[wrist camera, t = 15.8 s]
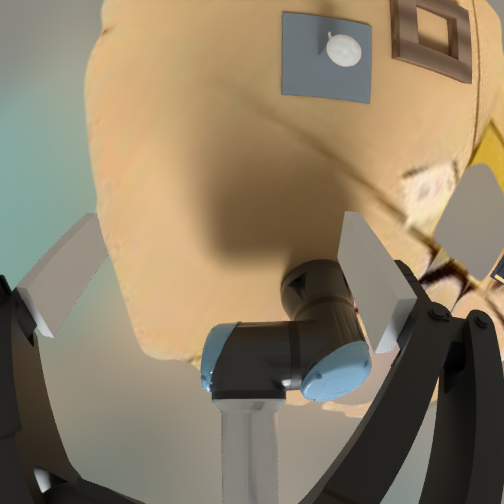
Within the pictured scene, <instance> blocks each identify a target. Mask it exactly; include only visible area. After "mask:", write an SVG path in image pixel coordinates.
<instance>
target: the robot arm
mask: <svg viewBox="0 0 504 504" xmlns="http://www.w3.org/2000/svg"><path fill="white" fill-rule="evenodd" d="M107 256H108V253H107V250H106V246H105V243H104V239H103V235H102V231H101V228H100V224H99V219H98V215H97V213H87V214H85V215H84V216H83V217H82V218H81V219H80V220H79V221H78V222H77V223H76V224H75V225H74V226H72V227H71V228H70V229H69V230H68V231H67V232H66V233H65V234H64V235H63V236H62V237H61V238H60V239H59V240H58V241H57V242H56V243H55V244H54V245H53V246H52V247H51V248H50V249H49V250H48V251H47V252H46V253H45V254H44V256H43V257H42V258H41V259H40V260H39V261H38V262H37V263H36V264H35V265H34V266H33V268H32V269H31V270H30V271H29V272H28V273H27V274H26V276H25V277H24V278H23V279H22V280H21V282H20V283H19V284H18V285H17V286H16V288H15V289H14V290H13V291H11V289H10V287H9V285H8V283H7V281H6V279H5V277H4V276H3V275H0V504H145V503H143V502H141V501H139V500H136V499H133V498H131V497H128V496H125V495H123V494H120V493H118V492H116V491H113V490H111V489H109V488H106V487H103V486H100V485H97V484H95V483H92V482H89V481H87V480H84V479H82V478H81V476H80V475H79V473H78V472H77V471H76V470H75V469H74V468H73V466H72V465H71V463H70V462H69V460H68V457H67V455H66V452H65V449H64V447H63V444H62V441H61V438H60V435H59V432H58V430H57V426H56V423H55V419H54V416H53V413H52V409H51V406H50V402H49V398H48V394H47V389H46V385H45V380H44V375H43V371H42V365H41V359H40V353H39V347H38V339H37V335H36V333H35V332H34V330H35V328H36V326H37V327H38V328H39V330H40V331H41V333H42V335H44V336H48V337H52V338H54V337H55V336H56V334H57V332H58V330H59V329H60V327H61V325H62V324H63V322H64V320H65V319H66V317H67V315H68V314H69V312H70V311H71V309H72V307H73V306H74V304H75V303H76V301H77V299H78V298H79V297H80V295H81V293H82V292H83V290H84V289H85V287H86V286H87V284H88V283H89V281H90V280H91V279H92V277H93V276H94V274H95V273H96V271H97V270H98V269H99V267H100V266H101V264H102V263H103V262H104V260H105V259H106V257H107ZM337 259H338V261H339V264H338V263H336V262H333V261H329V260H316V261H311V262H307V263H305V264H302V265H300V266H298V267H297V268H295V269H294V270H293V271H291V272H290V273H289V274H288V276H287V277H286V278H285V280H284V282H283V284H282V287H281V301H282V306H283V308H284V310H285V312H286V313H287V315H288V317H289V318H290V320H291V321H277V322H236V323H227V324H218V325H216V326H214V327H213V328H212V329H211V331H210V332H209V334H208V336H207V338H206V341H205V344H204V348H203V353H202V359H201V384H202V387H203V389H204V390H205V391H207V392H209V393H212V403H213V404H214V405H215V406H216V407H217V408H218V409H219V410H220V412H221V426H222V427H221V447H222V448H221V449H222V450H221V453H222V503H223V504H278V441H277V440H278V438H277V411H278V410H279V409H280V407H281V406H282V405H283V404H284V403H285V402H286V391H288V390H300V392H301V393H302V394H303V396H304V397H305V398H306V399H308V400H313V401H328V400H332V399H336V398H338V397H341V396H343V395H346V394H348V393H350V392H351V391H353V390H354V389H355V388H357V387H359V386H360V385H361V384H362V383H363V382H364V381H365V380H366V378H367V377H368V375H369V373H370V371H371V366H372V363H371V358H370V354H369V347H368V344H367V343H366V340H365V337H364V335H363V332H362V329H361V326H360V324H359V321H358V318H357V316H356V313H355V310H354V308H353V307H354V300H355V303H356V305H357V308H358V311H359V313H360V316H361V319H362V321H363V324H364V327H365V330H366V332H367V335H368V338H369V340H370V344H371V346H372V349H373V352H374V354H377V353H385V352H391V351H392V350H393V348H394V346H395V344H396V342H397V343H398V345H399V348H400V351H399V352H398V354H397V356H396V358H395V359H394V361H393V363H392V364H391V368H390V371H389V373H388V375H387V376H386V378H385V380H384V382H383V384H382V386H381V388H380V390H379V391H378V394H377V395H376V397H375V399H374V400H373V402H372V404H371V406H370V407H369V409H368V411H367V412H366V414H365V416H364V417H363V419H362V421H361V422H360V424H359V425H358V427H357V429H356V430H355V432H354V433H353V435H352V436H351V438H350V439H349V441H348V443H346V445H345V447H344V448H343V449H342V451H341V452H340V453H339V455H338V456H337V458H336V459H335V460H334V462H333V463H332V464H331V466H330V467H329V468H328V470H327V471H326V472H325V474H324V475H323V476H322V477H321V479H320V480H319V481H318V482H317V483H316V485H315V486H314V487H313V488H312V489H311V490H310V492H309V493H308V494H307V495H306V496H305V497H304V498H303V499H302V500H301V501H300V502H299V503H298V504H380V502H381V501H382V499H383V498H384V496H385V494H386V493H387V491H388V489H389V488H390V486H391V484H392V483H393V481H394V479H395V477H396V476H397V474H398V472H399V470H400V468H401V466H402V465H403V463H404V461H405V459H406V457H407V455H408V453H409V451H410V449H411V447H412V444H413V442H414V440H415V438H416V436H417V433H418V431H419V429H420V426H421V424H422V422H423V419H424V416H425V414H426V411H427V409H428V406H429V403H430V401H431V398H432V395H433V392H434V389H435V386H436V383H437V380H438V377H439V386H438V401H437V412H436V421H435V429H434V436H433V443H432V449H431V454H430V459H429V464H428V469H427V474H426V478H425V482H424V486H423V490H422V493H421V497H420V500H419V504H501V499H502V493H503V486H504V376H503V368H502V362H501V356H500V350H499V345H498V340H497V335H496V331H495V326H494V323H493V321H492V319H491V318H490V317H489V315H488V314H486V313H485V312H483V311H480V310H475V309H474V310H471V311H470V313H469V314H468V316H467V317H466V319H462V318H457V317H452V315H451V313H450V311H449V310H448V309H447V308H446V307H445V306H443V305H441V304H440V303H436V302H432V301H431V300H430V298H429V297H428V295H427V294H426V292H425V291H424V289H423V287H422V286H421V284H420V283H419V282H418V280H417V278H416V277H415V276H414V274H413V273H412V271H411V270H410V268H409V267H408V266H407V265H406V264H404V263H403V262H402V261H401V260H393V259H392V257H391V256H390V254H389V253H388V251H387V250H386V249H385V247H384V246H383V244H382V243H381V241H380V240H379V239H378V237H377V236H376V234H375V233H374V232H373V230H372V229H371V228H370V226H369V225H368V224H367V222H366V221H365V219H364V218H363V217H362V216H361V214H360V213H359V212H352V211H345V213H344V220H343V226H342V232H341V238H340V243H339V249H338V254H337ZM41 491H42V492H43V493H42V492H41Z"/></svg>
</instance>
